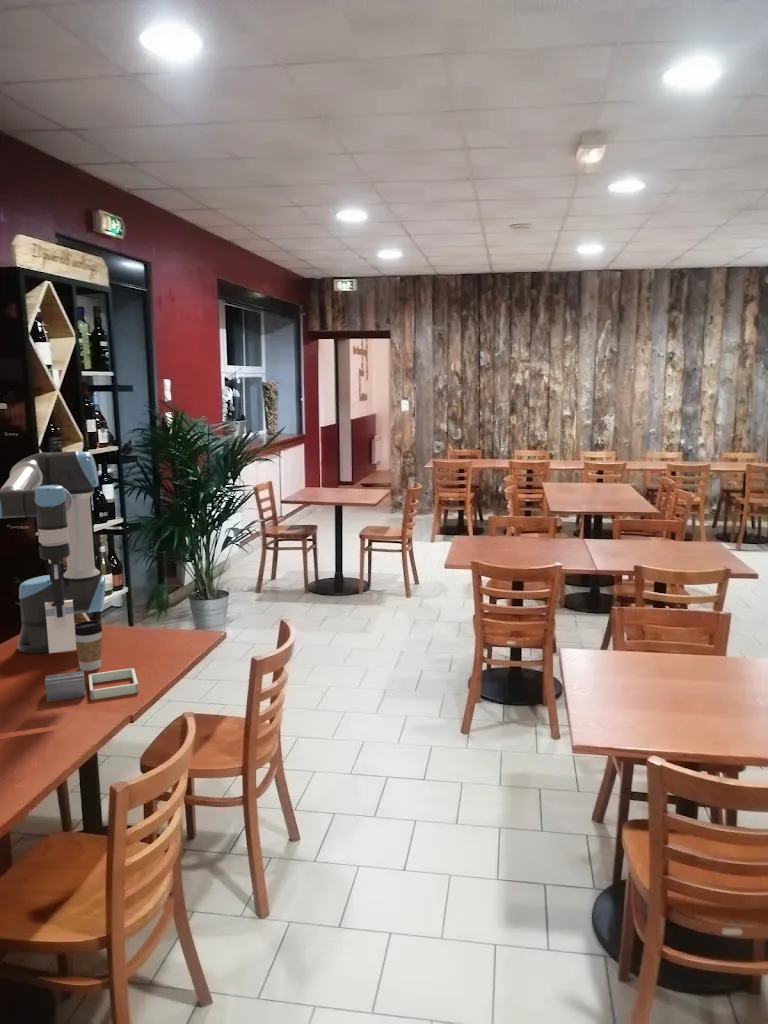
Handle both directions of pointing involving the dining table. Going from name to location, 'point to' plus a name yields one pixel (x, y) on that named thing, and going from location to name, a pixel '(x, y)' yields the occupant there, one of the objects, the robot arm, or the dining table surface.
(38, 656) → the dining table surface
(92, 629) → the coffee cup
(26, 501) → the robot arm
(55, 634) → the white striped flat box
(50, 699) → the dispenser
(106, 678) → the tray
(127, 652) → the dining table surface
